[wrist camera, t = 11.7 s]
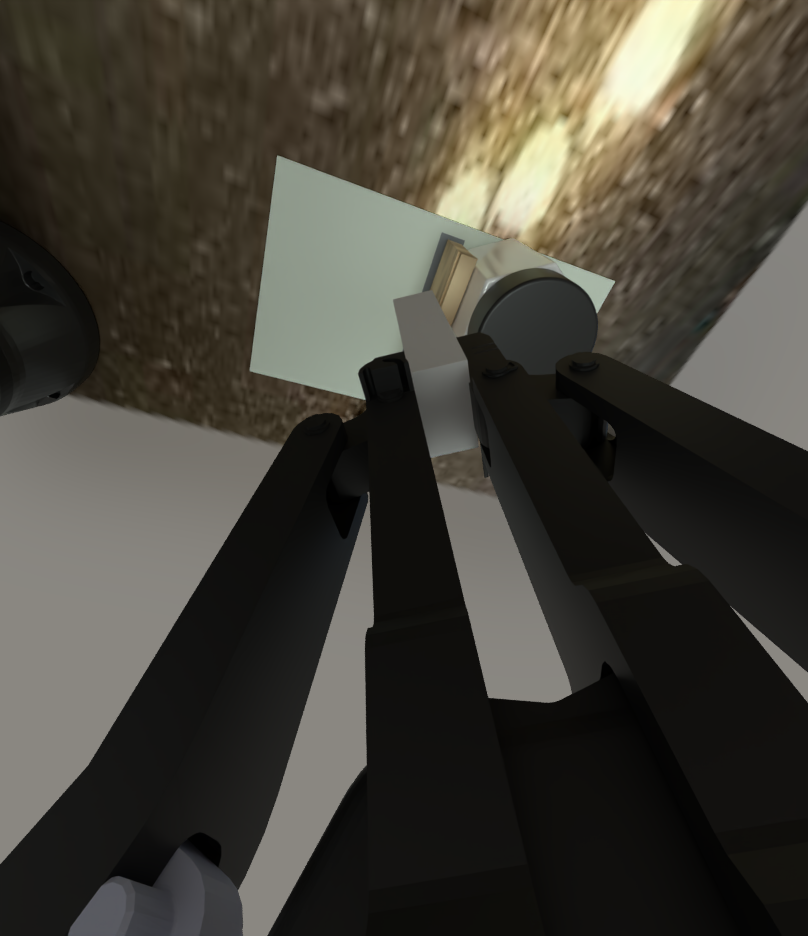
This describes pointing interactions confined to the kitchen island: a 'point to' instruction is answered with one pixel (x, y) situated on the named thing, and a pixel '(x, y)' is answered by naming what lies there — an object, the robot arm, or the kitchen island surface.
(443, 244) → the board
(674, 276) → the kitchen island surface
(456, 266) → the fence panel
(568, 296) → the jar
